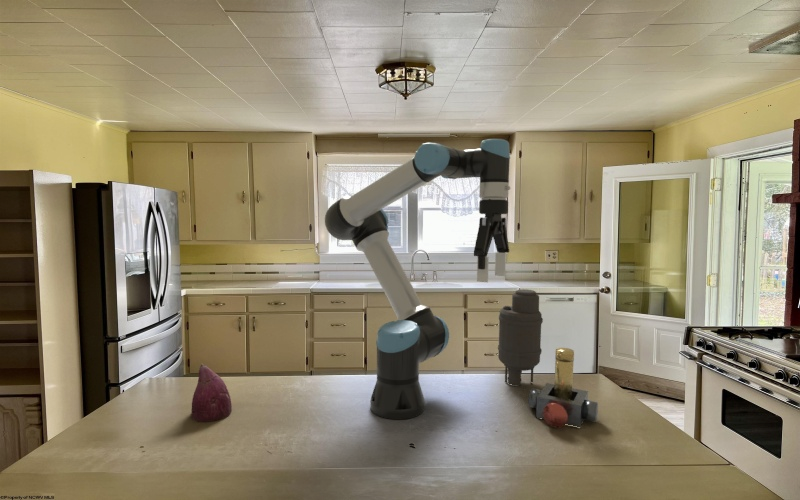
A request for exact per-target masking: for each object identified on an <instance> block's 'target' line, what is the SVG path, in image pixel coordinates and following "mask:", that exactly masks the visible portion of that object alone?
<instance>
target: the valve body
mask: <svg viewBox="0 0 800 500" xmlns="http://www.w3.org/2000/svg"><path fill="white" fill-rule="evenodd" d="M554 387H555V383H550V382H547V383H546V384H544V386H543V387H542V388H541V389H537V388H532V387H531V388H530V390H529V393H528V402H527V403H528V407H530V408H532V409H533V408H534V409H535V411H536V414H535V418H536V417H537V418H536V419H538V418H542V419H544V420H543V421H545V422H546V423H547V425H549V426H550V427H552V428H555V429H556V428H557V429H559V428H563V427H564V426H566V425H565V424H568V425H573V426H577V427H581V428H582V426H581V424H582V425H583V423H584V421H589V422H594V423H596V422H597V420H598V413H599V412H598V411H599V402H598V401H595V400H589V391H587V390H583V389H578V388H575V387H574V388H573V387H572V400H567V399H562V398H558V397H554ZM542 419H541V420H542ZM583 420H584V421H583ZM582 422H583V423H582Z"/></svg>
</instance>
